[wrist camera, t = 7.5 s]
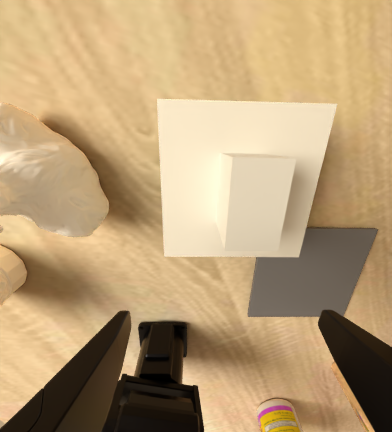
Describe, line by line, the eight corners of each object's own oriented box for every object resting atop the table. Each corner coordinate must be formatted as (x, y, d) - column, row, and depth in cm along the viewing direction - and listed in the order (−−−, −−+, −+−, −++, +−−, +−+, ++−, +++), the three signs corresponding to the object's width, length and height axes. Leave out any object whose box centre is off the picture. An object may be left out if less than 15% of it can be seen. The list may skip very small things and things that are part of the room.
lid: (292, 250, 17) (332, 293, 12) (165, 250, 16) (155, 293, 12) (326, 106, 13) (406, 85, 8) (159, 101, 12) (140, 76, 8)
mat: (341, 314, 26) (343, 316, 26) (247, 314, 26) (248, 316, 25) (374, 228, 22) (378, 229, 21) (261, 227, 21) (262, 228, 21)
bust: (29, 119, 19) (-160, 171, 12) (34, 60, 13) (-311, 90, 6) (113, 213, 23) (7, 295, 16) (143, 196, 17) (1, 311, 10)
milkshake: (365, 357, 30) (446, 456, 20) (341, 377, 31) (404, 476, 22) (345, 348, 29) (418, 447, 19) (320, 368, 30) (378, 469, 21)
